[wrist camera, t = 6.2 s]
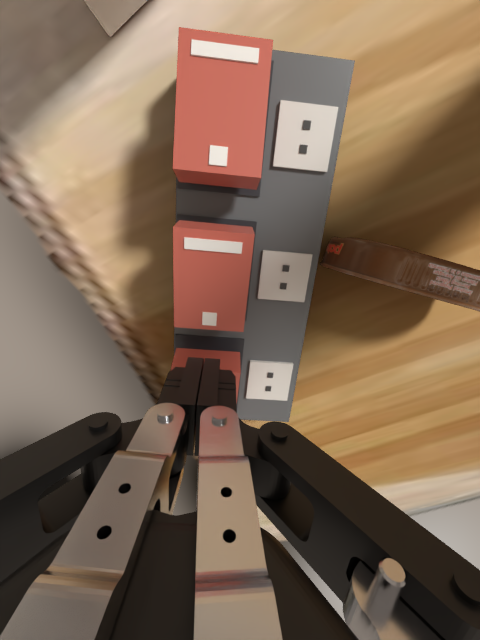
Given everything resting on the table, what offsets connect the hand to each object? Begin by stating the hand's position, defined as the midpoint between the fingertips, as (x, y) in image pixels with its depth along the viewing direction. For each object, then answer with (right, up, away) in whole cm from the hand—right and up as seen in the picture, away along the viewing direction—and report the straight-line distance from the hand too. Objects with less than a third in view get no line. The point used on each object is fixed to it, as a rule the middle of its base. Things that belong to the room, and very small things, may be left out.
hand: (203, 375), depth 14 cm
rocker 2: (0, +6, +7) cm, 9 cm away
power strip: (+2, +8, +13) cm, 15 cm away
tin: (+16, +8, +14) cm, 22 cm away
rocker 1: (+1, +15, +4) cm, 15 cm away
